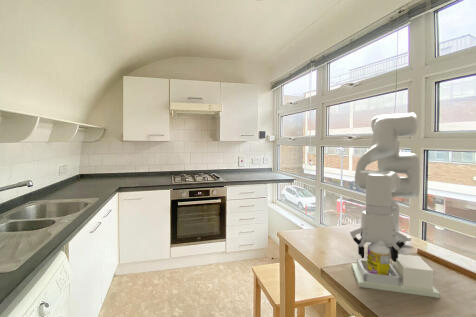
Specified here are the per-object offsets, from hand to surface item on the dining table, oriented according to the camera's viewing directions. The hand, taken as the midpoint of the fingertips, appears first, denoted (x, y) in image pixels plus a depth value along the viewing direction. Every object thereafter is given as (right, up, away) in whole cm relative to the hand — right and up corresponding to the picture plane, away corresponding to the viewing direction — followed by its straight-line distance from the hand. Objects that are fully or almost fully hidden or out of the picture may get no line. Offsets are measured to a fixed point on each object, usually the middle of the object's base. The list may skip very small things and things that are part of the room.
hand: (377, 258), depth 80 cm
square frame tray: (+4, -7, -1) cm, 8 cm away
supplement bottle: (0, -6, 0) cm, 6 cm away
